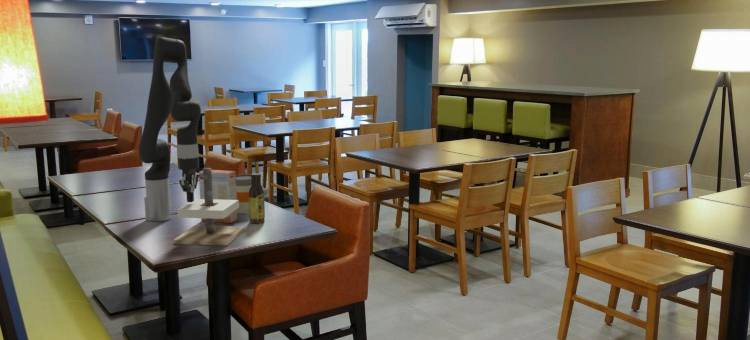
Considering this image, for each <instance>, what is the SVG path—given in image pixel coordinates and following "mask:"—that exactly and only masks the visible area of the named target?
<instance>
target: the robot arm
mask: <svg viewBox="0 0 750 340" xmlns="http://www.w3.org/2000/svg"><path fill="white" fill-rule="evenodd" d="M187 54H188V53H187V47H186V43H185V42H184V41H183V40H181V39H176V38H170V37H164V36H159V37H157V39H156V40H155V44H154V51H153V64H152V76H151V83H150V87H149V94H148V100H147V106H146V114H145V115H146V116H145V120H144V125H143V130H142V135H141V138H140V141H139V145H138V146H139V147H138V156H139V159H140V161H141V162H142V163H143V164H151V166H150V167H149V169H148V170H146V171H144V184H145V197H144V198H143V201H144V213H145V216H144V217H145V221H149V222H165V221H168V220H170V219H172V211H171V210H172V209H171V208H172V207H171V197H170V181H169V180H170V179H169V174H170V171H171V170H170V169H171V152H170V146H169V144H168V142H167V141H166V140H165V139H163V138H158V137H159V134H160V132H161V130H162V128H163V126H164V125H165V123H166V122H167V120H168V118H169V117H170V116H171V118H172V120H173V121H175V122H189V123H188V125H186V126H183V127H180V128H178V129H177V130H176V142H177V149H176V154H177V169H178V170H180V171H181V177H182V178H181V179H179V180H178V181H179V183H178V184H179V186H180V187H181V189H182V192H184V193H186V194H185V195H186V202H187V203H190V202H193V201H194V200H195V189H196V190H197V186H198V184H199V183H198V181H199V173H198V174H197V170H198V169H199V168H200V156H199V145H198V126H199V121H200V117H201V112H202V109H201V106H200V103H198V102H197V101H194V100H193V101H192V97H193V96H192V95H193V94H192V90H191V85H190V82H189V75H188V73H189V71H188V58H187ZM164 63H169V64H170V63H173V64H177V68H176V69H175V70H174V72H173V74H172V75H171V77H170V79H169V82H168V79H167V78H166V75H165V71H164Z"/></svg>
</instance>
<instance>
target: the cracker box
mask: <svg viewBox="0 0 750 340" xmlns="http://www.w3.org/2000/svg"><path fill="white" fill-rule="evenodd" d="M211 170H212V190H213V199H219V200H237V195H236V175H237V174H236V170H222V169H211ZM198 174H199V178H198V181H199V183H198V184H199V199H205V197H204V178H203V170H200V171H198ZM200 219H201V222H206V218H200ZM238 220H239V219H238V213H237V209H236V210H235V211H234V212H232V213H231V214H229V215H228V216H227V217H225V218H224V219H214V223H224V224H232V223H234V222H237V221H238Z"/></svg>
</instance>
